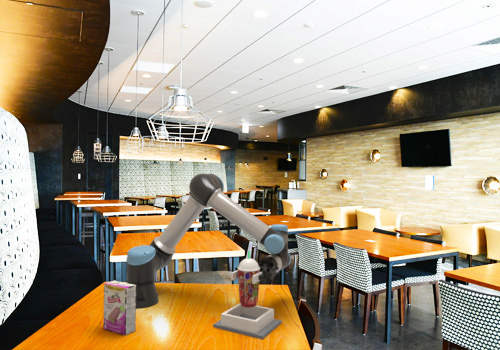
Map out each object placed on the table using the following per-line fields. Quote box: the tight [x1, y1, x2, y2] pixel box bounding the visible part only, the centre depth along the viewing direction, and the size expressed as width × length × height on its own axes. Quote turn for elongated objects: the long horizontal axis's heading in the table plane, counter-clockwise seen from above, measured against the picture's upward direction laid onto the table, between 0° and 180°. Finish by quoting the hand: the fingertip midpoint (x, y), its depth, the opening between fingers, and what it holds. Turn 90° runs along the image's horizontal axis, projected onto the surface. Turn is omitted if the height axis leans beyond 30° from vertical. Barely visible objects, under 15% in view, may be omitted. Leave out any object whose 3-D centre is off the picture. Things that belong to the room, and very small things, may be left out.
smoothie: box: [237, 250, 260, 308], centre depth 135 cm, size 8×8×20 cm
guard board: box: [212, 302, 283, 340], centre depth 135 cm, size 20×16×5 cm
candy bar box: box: [102, 280, 137, 336], centre depth 129 cm, size 11×5×16 cm, turn 63°
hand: (242, 278), depth 131 cm, fingers closed on smoothie, 8 cm apart
